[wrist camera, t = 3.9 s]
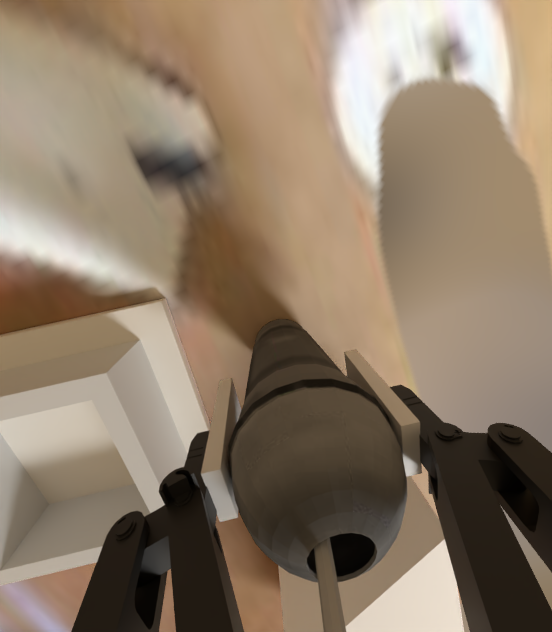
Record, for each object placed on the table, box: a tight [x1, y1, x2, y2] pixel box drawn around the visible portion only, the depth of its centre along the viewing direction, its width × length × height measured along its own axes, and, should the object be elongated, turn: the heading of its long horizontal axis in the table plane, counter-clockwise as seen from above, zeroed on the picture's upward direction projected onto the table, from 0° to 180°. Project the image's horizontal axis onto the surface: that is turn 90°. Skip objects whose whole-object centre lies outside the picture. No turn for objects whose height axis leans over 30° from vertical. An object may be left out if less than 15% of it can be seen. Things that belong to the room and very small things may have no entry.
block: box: [278, 476, 464, 632], centre depth 25 cm, size 15×30×11 cm, turn 171°
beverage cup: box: [228, 319, 407, 632], centre depth 13 cm, size 7×7×20 cm
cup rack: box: [0, 298, 211, 586], centre depth 20 cm, size 20×20×6 cm
